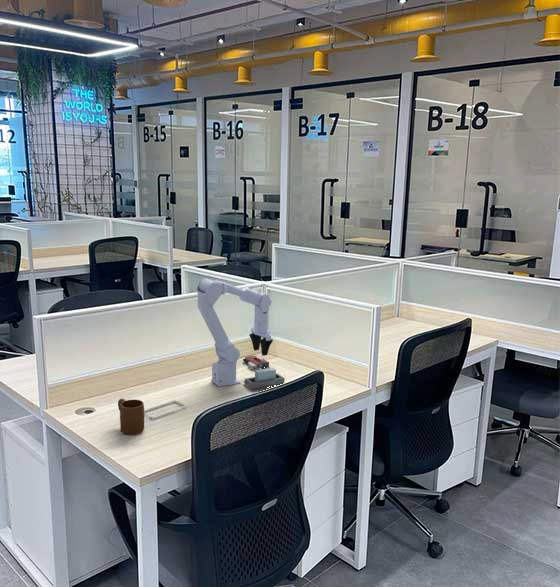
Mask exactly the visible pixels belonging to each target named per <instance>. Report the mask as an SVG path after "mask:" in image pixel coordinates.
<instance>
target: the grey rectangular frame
mask: <svg viewBox="0 0 560 587" xmlns="http://www.w3.org/2000/svg"><path fill="white" fill-rule="evenodd" d="M171 404H177V405H179V406H181V407H179V408H178V407H177V408H175V409H173V410H169V411H166V412H164V413H161V414H158V415H155V416H152V415H150V414H148V412H151V411H153V409H154V410H157V409H160V408H162V407H166V406H168V405H171ZM187 407H188V405H187V404H185V403H182V402H181V401H178V400H171V401H168V402H165V403H161V404H159V405H156V406H153V407H150V408H147V409H144V416H145V415H146V416H147V417H149V418H150V419H151V420H152V419H154V420H157V419H160V418H163V417H166V416H169V415H171V414H174V413H175V411H178V410H182V409H183V410H185V409H187Z"/></svg>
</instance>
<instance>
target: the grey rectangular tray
mask: <svg viewBox="0 0 560 587" xmlns="http://www.w3.org/2000/svg"><path fill="white" fill-rule="evenodd" d="M283 383H284V384H285V377H284V376H282V375H281V374H279V373H276V379H270V380H264V381H258V382H255V376H253V377H246V378H244V383H243V386H244V387H245V388H247V390H249V391H250V392H258V390H259V391H262V389H263V390H268V389H267V387H269V386H270V387H269V388H270V389H272V388H271V386H272V387H274V385H276V386H277V385H280V384H283Z"/></svg>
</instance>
